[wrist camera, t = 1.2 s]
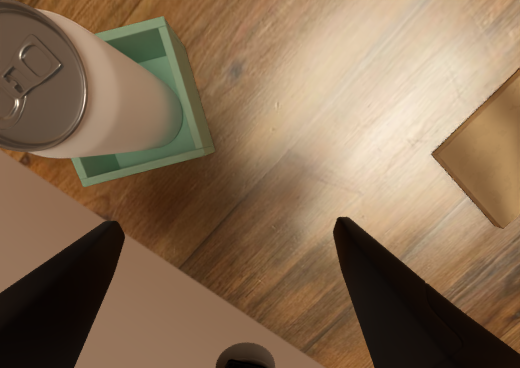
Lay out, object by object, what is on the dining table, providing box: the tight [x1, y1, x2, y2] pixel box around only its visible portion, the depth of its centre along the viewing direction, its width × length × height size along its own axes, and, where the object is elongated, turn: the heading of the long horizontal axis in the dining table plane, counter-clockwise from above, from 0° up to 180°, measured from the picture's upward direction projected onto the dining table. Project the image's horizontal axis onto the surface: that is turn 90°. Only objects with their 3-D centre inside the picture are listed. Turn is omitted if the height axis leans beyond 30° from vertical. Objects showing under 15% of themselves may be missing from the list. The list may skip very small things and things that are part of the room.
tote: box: [71, 16, 215, 187], centre depth 18 cm, size 10×10×5 cm
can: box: [0, 0, 182, 158], centre depth 14 cm, size 6×6×12 cm
